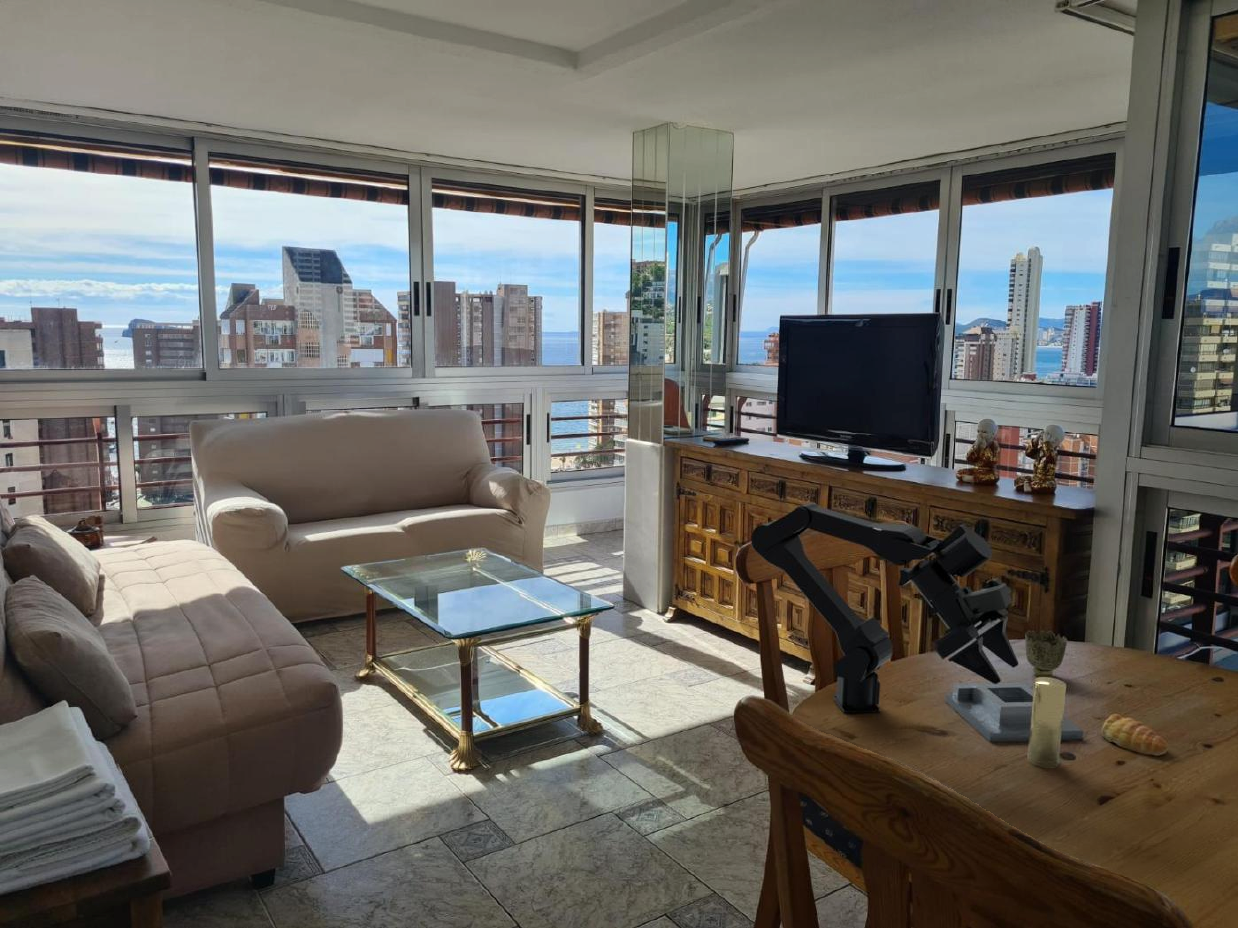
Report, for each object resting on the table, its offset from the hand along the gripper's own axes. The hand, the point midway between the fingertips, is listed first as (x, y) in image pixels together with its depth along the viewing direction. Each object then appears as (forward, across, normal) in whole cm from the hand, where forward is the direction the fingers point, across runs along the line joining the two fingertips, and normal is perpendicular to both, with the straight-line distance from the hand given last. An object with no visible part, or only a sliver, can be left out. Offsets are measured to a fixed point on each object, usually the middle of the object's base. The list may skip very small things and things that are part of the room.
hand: (1007, 674), depth 143 cm
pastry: (+20, +17, -2) cm, 27 cm away
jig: (+7, +13, +10) cm, 18 cm away
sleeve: (+13, 0, +4) cm, 14 cm away
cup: (+6, +38, +12) cm, 40 cm away
